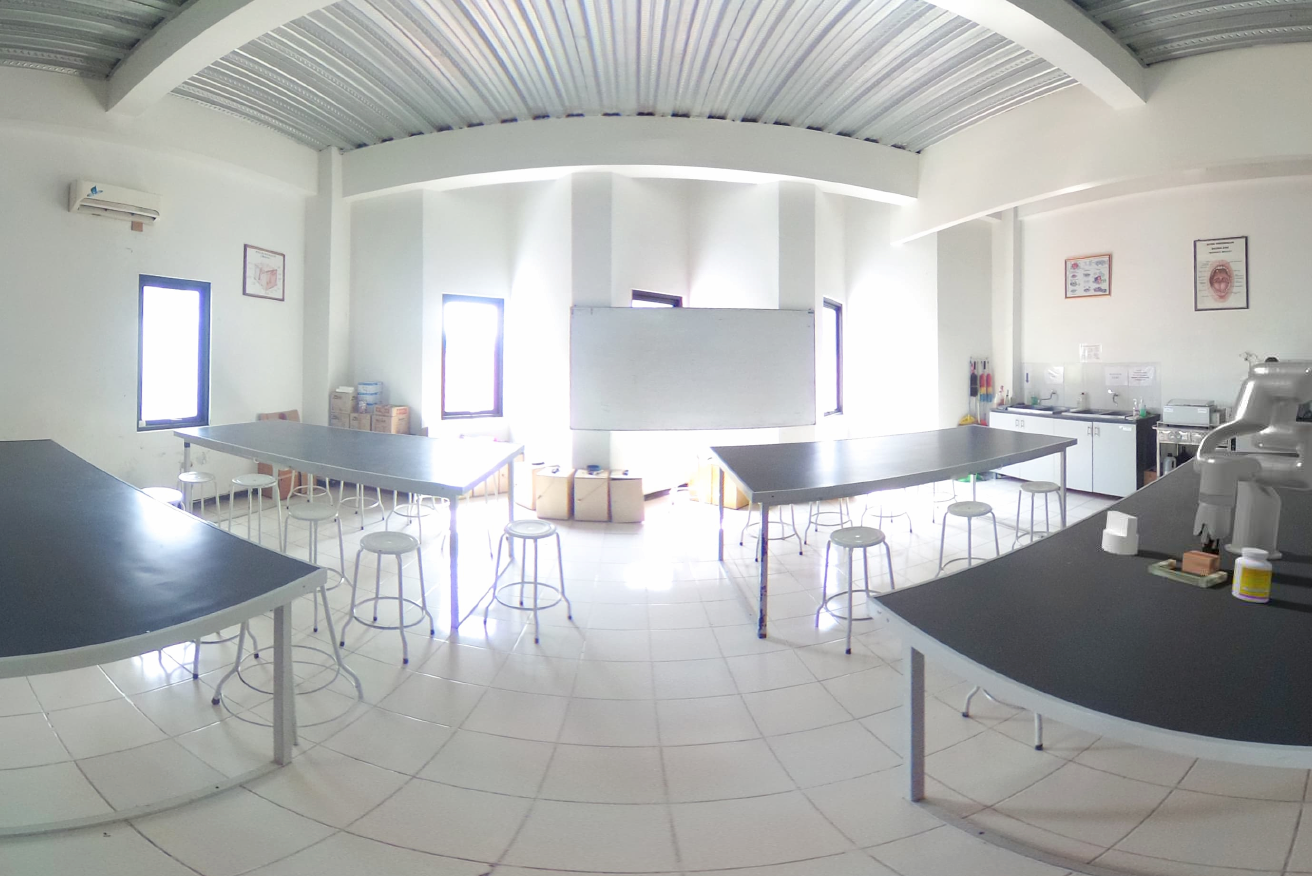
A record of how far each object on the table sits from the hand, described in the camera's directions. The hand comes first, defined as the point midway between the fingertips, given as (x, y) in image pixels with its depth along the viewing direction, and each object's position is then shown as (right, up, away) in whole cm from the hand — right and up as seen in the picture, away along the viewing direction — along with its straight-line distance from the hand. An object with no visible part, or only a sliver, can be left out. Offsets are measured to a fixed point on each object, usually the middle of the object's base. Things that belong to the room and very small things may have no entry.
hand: (1209, 560), depth 170 cm
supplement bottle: (-10, -6, -21) cm, 24 cm away
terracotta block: (-5, -3, -2) cm, 6 cm away
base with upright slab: (-13, -1, +17) cm, 22 cm away
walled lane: (-12, -3, -5) cm, 13 cm away
